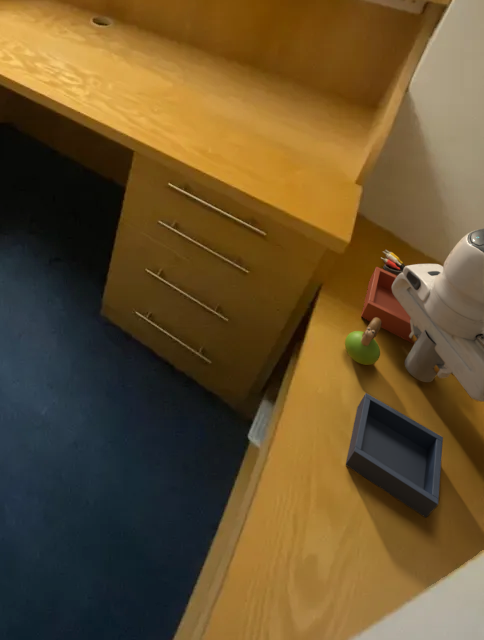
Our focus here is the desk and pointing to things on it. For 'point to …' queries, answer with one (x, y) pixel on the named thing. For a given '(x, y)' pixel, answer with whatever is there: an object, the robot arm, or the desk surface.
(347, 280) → the desk surface
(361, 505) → the desk surface
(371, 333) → the snail figurine
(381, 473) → the slate bin
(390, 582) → the desk surface
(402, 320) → the terracotta bin
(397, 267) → the composite cable
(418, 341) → the grey cylindrical cup
